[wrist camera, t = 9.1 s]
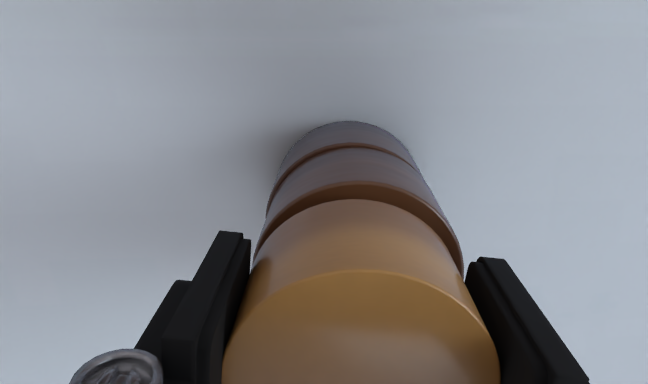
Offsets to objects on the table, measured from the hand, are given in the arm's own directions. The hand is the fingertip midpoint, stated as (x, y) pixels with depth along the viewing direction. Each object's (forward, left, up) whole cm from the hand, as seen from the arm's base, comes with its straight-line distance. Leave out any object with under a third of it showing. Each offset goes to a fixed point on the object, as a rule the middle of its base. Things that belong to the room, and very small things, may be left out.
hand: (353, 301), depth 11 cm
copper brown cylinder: (0, 0, 0) cm, 0 cm away
